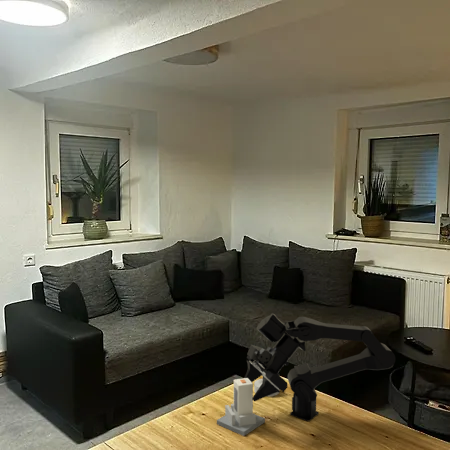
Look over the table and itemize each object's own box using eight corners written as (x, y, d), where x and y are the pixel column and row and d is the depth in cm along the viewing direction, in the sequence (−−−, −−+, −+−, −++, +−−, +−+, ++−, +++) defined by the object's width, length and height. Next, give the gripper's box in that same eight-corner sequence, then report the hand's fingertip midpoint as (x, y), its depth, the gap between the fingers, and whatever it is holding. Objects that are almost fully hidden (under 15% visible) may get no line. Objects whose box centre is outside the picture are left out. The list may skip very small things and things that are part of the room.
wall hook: (259, 356, 163) (284, 362, 157) (259, 382, 164) (284, 389, 158) (245, 363, 156) (271, 370, 150) (245, 390, 157) (271, 399, 151)
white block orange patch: (247, 413, 139) (247, 377, 138) (252, 420, 135) (252, 383, 134) (233, 415, 138) (233, 378, 137) (237, 422, 133) (237, 385, 132)
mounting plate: (265, 421, 136) (265, 408, 136) (243, 436, 128) (243, 421, 128) (238, 410, 143) (238, 397, 142) (216, 423, 135) (216, 410, 135)
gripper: (252, 326, 145) (219, 365, 142) (277, 346, 127) (239, 391, 125) (275, 348, 148) (243, 386, 145) (303, 370, 130) (267, 414, 128)
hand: (247, 393), depth 136 cm, fingers open, 9 cm apart
